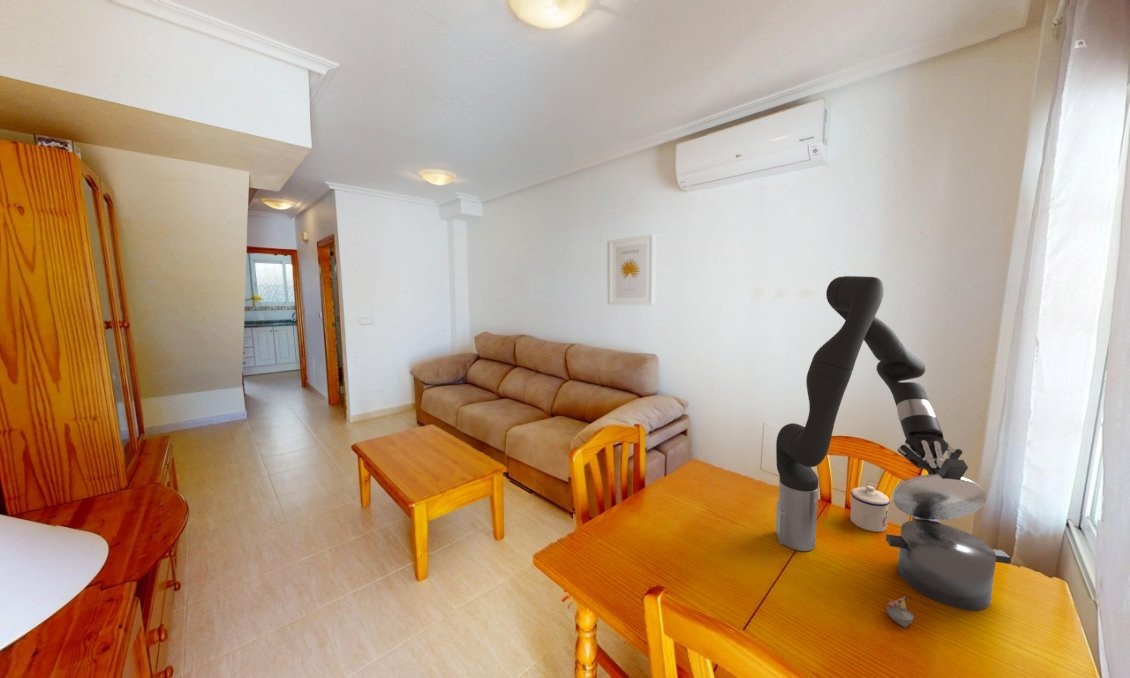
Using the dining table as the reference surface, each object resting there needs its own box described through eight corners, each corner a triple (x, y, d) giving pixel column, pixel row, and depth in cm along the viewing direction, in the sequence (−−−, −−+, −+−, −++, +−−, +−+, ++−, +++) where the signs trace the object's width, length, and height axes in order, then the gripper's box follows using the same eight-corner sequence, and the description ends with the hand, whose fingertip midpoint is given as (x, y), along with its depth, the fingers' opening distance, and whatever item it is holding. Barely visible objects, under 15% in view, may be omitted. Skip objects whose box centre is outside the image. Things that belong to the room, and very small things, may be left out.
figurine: (908, 633, 81) (911, 604, 81) (882, 619, 84) (884, 592, 84) (916, 623, 84) (918, 595, 84) (890, 610, 88) (892, 584, 87)
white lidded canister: (891, 536, 111) (894, 497, 110) (852, 528, 115) (855, 491, 114) (880, 513, 122) (882, 478, 120) (844, 507, 126) (846, 473, 124)
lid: (885, 513, 103) (882, 504, 105) (969, 524, 98) (964, 514, 100) (911, 462, 91) (907, 453, 93) (1009, 471, 85) (1002, 461, 87)
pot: (900, 598, 90) (904, 553, 88) (870, 549, 106) (873, 511, 105) (1028, 621, 83) (1035, 573, 81) (975, 565, 99) (979, 524, 98)
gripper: (893, 411, 104) (913, 477, 94) (956, 415, 99) (985, 484, 89) (883, 424, 109) (901, 487, 99) (942, 428, 105) (968, 494, 95)
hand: (941, 485), depth 94 cm, fingers closed
